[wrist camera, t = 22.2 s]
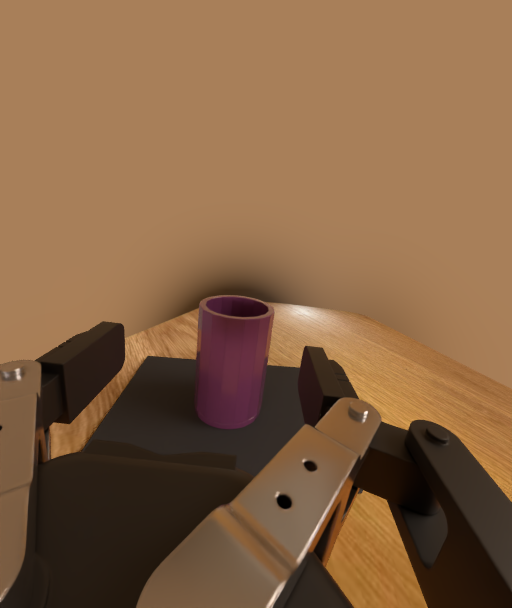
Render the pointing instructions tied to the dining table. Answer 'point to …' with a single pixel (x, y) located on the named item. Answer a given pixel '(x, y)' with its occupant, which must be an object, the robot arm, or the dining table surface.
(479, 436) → the dining table surface
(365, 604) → the dining table surface
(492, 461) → the dining table surface
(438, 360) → the dining table surface
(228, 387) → the plum cup
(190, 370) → the mat
